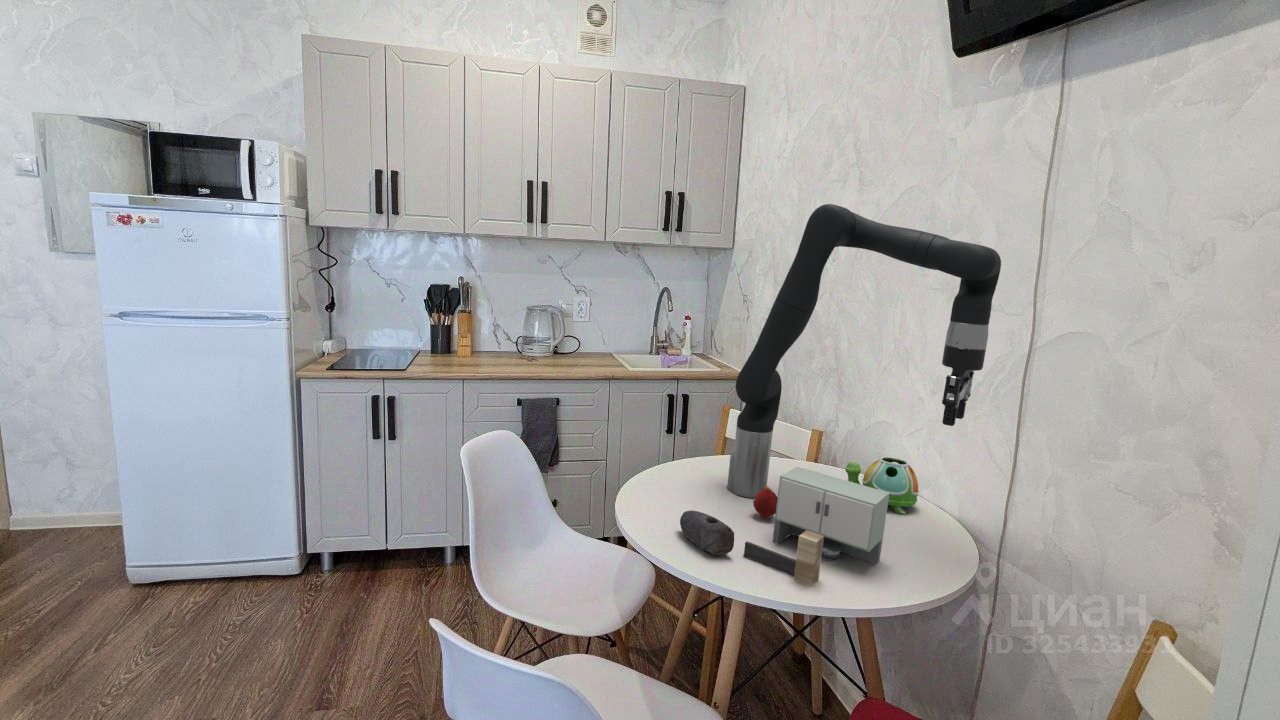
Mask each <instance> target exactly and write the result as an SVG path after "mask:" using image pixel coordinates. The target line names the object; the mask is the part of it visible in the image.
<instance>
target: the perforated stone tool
mask: <svg viewBox="0 0 1280 720" xmlns="http://www.w3.org/2000/svg"><path fill="white" fill-rule="evenodd" d="M679 524H680V528H681V531H682V533H683V535H685V537H686V538H687V539H688V540H690V541H691V542H692V543H693V545H696V546H697V547H698V548H699V549H700V550H703V551H704V552H705V551H707V552H709V553H710V554H711V555H712V556H719V555H722V556H725V555H727V554H729V553H731V552H732V551H733V549H734V546H735V532H734V530H733V529H732V528H731V527H729V525H727V524H725V523H724V522H723V521H721V520H719V519H718V518H716V517H714V516H712V515H709V514H708V513H707V514H706V513H704V512H701V511H697V510H686V511H684V512H683V513H682V515H681V516H680V519H679Z"/></svg>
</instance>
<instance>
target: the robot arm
mask: <svg viewBox="0 0 1280 720" xmlns="http://www.w3.org/2000/svg"><path fill="white" fill-rule="evenodd" d="M839 247H842V248H843V247H845V248H854V249H855V248H856V249H863V250H867V251H871V252H876V253H878V254H882V255H884V256H886V257H889V258H892V259H894V260H897V261H900V262H903V263H907V264H909V265H913V266H918V267H921V268H925V269H929V270H932V271H933V270H934V271H939V272H941V273H945V274H948V275H950V276H953V277H956V278H960V281H959V287H958V289H959V290H958V292H957V294H956V295H955V296H954V298H953V302H952V307H951V313H950V318H949V319H950V320H949V324H948V328H947V330H946V336H945V341H944V348H943V356H942V360H941V364H942V365H943V366H944V367H946V368H951V369H952V370H951V375H949V374H947V375H946V376H945V377H946V378H945V384H944V390H943V396H942V400H941V403H942V404H941V405H943V407H944V410H943V415H942V417H943V418H942V421H941V422H942V424H943V425H945V426H949V427H954V426H955V424H956V420H957V419H960V420H962V419H964V417H965V412H966V405H967V402H968V401H969V398H970V397H971V391H972V385H973V378H974V375H975V371H976V372H978V371H981V370H982V369H983V368H984V363H985V358H986V351H987V346H988V345H987V344H988V340H989V339H988V338H989V325H990V320H991V319H990V318H991V313H992V307H993V305H992V304H993V298H994V295H995V292H996V289H997V285H998V282H999V278H1000V273H1001V269H1002V260H1001V256H1000V254H999V253H998V252H997V250H995V249H994V248H992V247H988V246H986V245H981V244H976V243H972V242H971V243H970V242H965V241H961V240H954V239H950V238H948V237H945V236H942V235H939V234H935V233H931V232H927V231H922V230H919V229H913V228H907V227H901V226H896V225H895V226H894V225H889V224H884V223H881V222H877V221H874V220H872V219H868V218H866V217H864V216H863V215H862V216H861V215H860V214H857V213H856V212H853V211H851V210H850V209H848V208H847V207H844V206H841V205H837V204H833V203H825V204H822V205H820V206H819V207H817V208H816V209H814V211H813V212H812V213H811V215H810V216H809V217H808V219H807V222H806V225H805V228H804V231H803V234H802V237H801V240H800V243H799V245H798V249H797V252H796V254H795V257H794V259H793V261H792V264H791V266H790V268H789V270H788V272H787V274H786V276H785V278H784V281H783V282H782V284H781V288H780V289H779V291H778V293H777V296H776V297H775V300H774V303H773V304H772V307H771V308H770V312H769V313H768V316H767V318H766V321H765V323H764V325H763V327H762V329H761V332H760V335H759V336H758V338H757V341H756V344H755V346H754V347H753V350H752V351H751V352H750V355H749V356H748V358H747V360H746V361H745V363H744V364H743V366H742V368H741V370H740V372H739V373H738V376H737V378H736V381H735V392H736V395H737V397H738V399H739V400H740V401H741V402H742V403H744V404H745V405H744V406H743V409H742V410H741V411H740V413H739V414H738V416H737V418H736V430H735V438H734V450H733V453H731V454H730V456H729V467H728V476H727V477H728V478H727V486H726V489H727V490H729V491H730V492H732V493H733V494H734V495H737V496H740V497H744V498H751V499H753V498H754V499H755V496H756V495H757V494H758V493H759V492H760V491H761V490H764V489H765V486H768V479H769V470H770V469H769V468H770V462H771V461H770V460H771V453H772V452H771V451H772V450H771V449H772V443H773V442H772V441H773V435H774V434H773V433H774V427H775V422H777V421H776V420H777V419H778V414H779V409H780V401H781V396H782V387H783V386H782V378H781V375H780V373H779V372H778V370H777V368H778V366H779V363H780V362H781V360H782V358H783V357H784V356H785V354H786V353H787V352H788V350H789V349H790V348H792V346H793V345H794V344H795V342H796V341H797V340H798V338H800V336H801V335H802V333H803V332H804V330H805V329H806V327H807V325H808V323H809V321H810V320H811V318H812V316H813V313H814V311H815V308H816V306H817V302H818V299H819V291H820V286H821V285H820V284H821V278H822V274H823V272H824V268H825V266H826V264H827V262H828V260H829V258H830V257H831V255H832V253H833V251H834V249H835V248H839ZM951 398H952V399H951Z"/></svg>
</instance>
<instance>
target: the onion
mask: <svg viewBox="0 0 1280 720" xmlns="http://www.w3.org/2000/svg"><path fill="white" fill-rule="evenodd" d="M777 499H778V495H777V494H776V493H775V492H774V491H773V490H772V489H771V488H770V487H769V485H767V486H765V489H764V490H761V491H760V492H759V493H758V494H757V495H756V496H755V498H754V499H753V506H754V509H755V511H756V513H758V514H759V516H760V517H761V518H762V519H763V520H766V519H768V518H771V517H772V516H774V515H776V507H777Z"/></svg>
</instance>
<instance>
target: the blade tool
mask: <svg viewBox="0 0 1280 720" xmlns="http://www.w3.org/2000/svg"><path fill="white" fill-rule="evenodd" d="M823 540H824V536H822V535H819V534H816V533H813V532H810V531H807V530H806V531H805V532H803V533H802V534H801V535H799V536H798V541H797V550H796V558H792V557H789V556H786V555H785V554H781V553H779V552H776V551H773V550H770V549H769V548H765V547H763V546H761V545H759V544H755V543H753V542H750V541H747V540H746V541H745V542H744V552H743V557H745V558H747V559H750V560H751V561H754V562H756V563H759V564H762V565H765V566H766V567H769V568H773V569H775V570H777V571H779V572H782V573H784V574H787V575H790V576H791V577H793V581H794V582H795V581H796V582H798V583H800V584H802V585H804V586H808V587H810V588H811V587H813V586H814V585H815V584H816V583H817V582H818V581H819V577H820V570H821V563H822V558H821V556H822V548H823Z"/></svg>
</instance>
